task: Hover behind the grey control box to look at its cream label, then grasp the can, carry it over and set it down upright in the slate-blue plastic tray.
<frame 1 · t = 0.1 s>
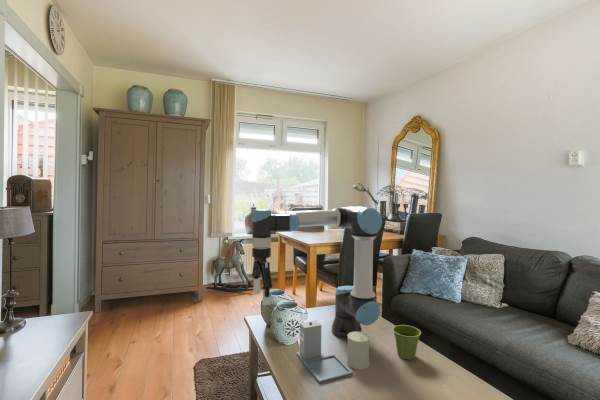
hand: (261, 299, 128), 28 cm above the table, fingers open, 13 cm apart
plant pot: (406, 356, 138), on the table
can: (358, 363, 132), on the table
tray: (327, 369, 127), on the table
control box: (310, 355, 137), on the table
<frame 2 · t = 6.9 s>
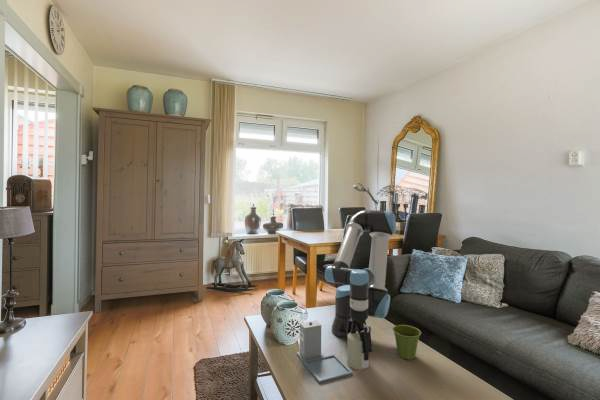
hand: (358, 360, 132), 1 cm above the table, fingers closed on can, 9 cm apart
can: (358, 363, 132), on the table, touching gripper
everything else where it was.
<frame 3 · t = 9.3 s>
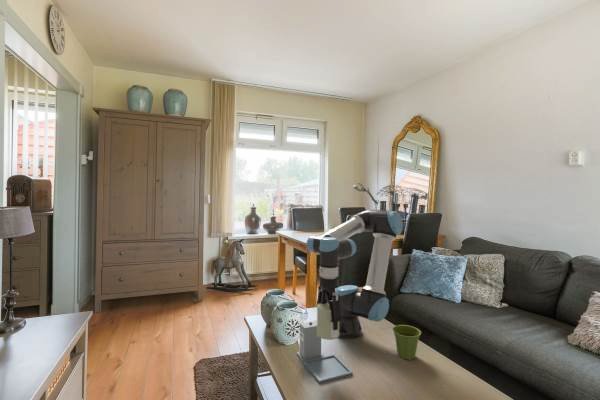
hand: (328, 331, 127), 15 cm above the table, fingers closed on can, 9 cm apart
can: (328, 334, 127), point 14 cm above the table, touching gripper
everything else where it was.
when the fingers open (3 cm above the table, at t = 11.9 s): can drops 2 cm, resting on tray.
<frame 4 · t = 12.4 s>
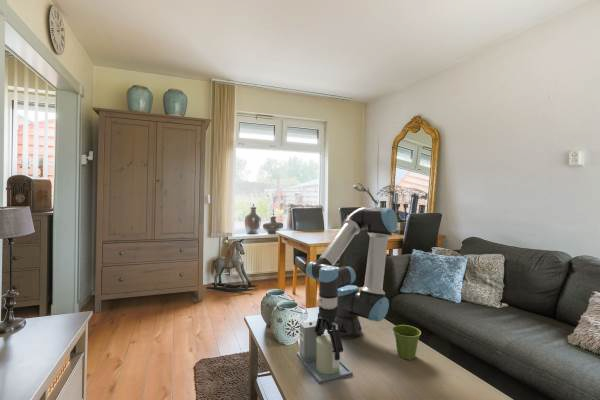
hand: (328, 358, 127), 4 cm above the table, fingers open, 12 cm apart
can: (327, 368, 127), resting on tray
everything else where it was.
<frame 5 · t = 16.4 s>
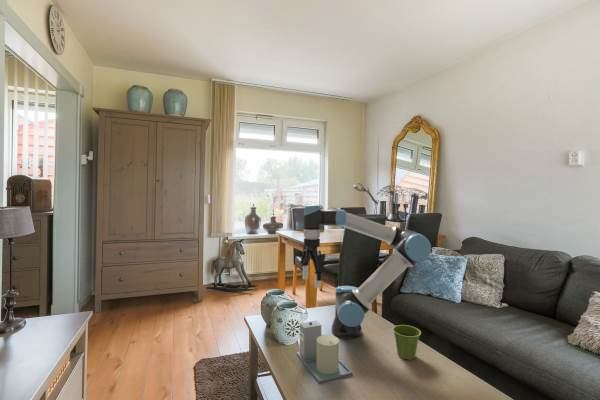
hand: (311, 283, 147), 29 cm above the table, fingers open, 13 cm apart
nothing on the table moved.
at the end: can inside the target area on the tray (0.1 cm from its centre), point 0.3 cm above the tray's base; can tilted 0°; can touching tray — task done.
